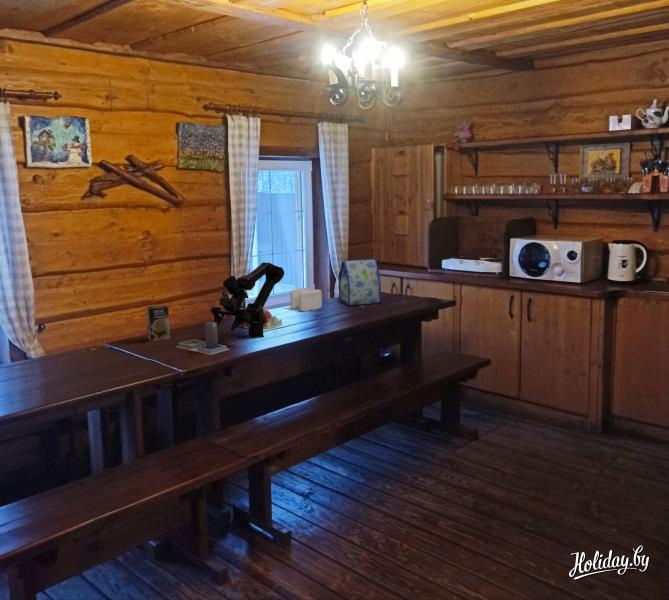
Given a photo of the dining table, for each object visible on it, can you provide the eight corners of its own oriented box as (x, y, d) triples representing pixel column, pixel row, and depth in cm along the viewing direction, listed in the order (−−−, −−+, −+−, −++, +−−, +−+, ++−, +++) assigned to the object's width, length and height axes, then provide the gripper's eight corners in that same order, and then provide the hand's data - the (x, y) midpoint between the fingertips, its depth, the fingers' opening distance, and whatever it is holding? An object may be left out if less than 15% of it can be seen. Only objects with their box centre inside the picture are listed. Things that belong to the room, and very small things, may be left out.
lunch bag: (369, 299, 416) (369, 256, 411) (382, 303, 401) (382, 259, 396) (336, 302, 406) (336, 259, 401) (349, 307, 391) (348, 262, 387)
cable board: (175, 348, 301) (175, 343, 301) (195, 343, 310) (194, 338, 309) (210, 356, 287) (210, 351, 287) (229, 351, 296) (229, 345, 295)
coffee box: (150, 343, 312) (148, 308, 309) (147, 340, 318) (145, 306, 315) (170, 340, 316) (168, 306, 314) (167, 337, 322) (165, 304, 319)
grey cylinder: (215, 348, 298) (213, 321, 296) (220, 350, 294) (218, 323, 292) (204, 349, 295) (203, 322, 293) (209, 352, 291) (208, 324, 289)
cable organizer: (311, 306, 394) (310, 287, 392) (322, 309, 386) (322, 289, 384) (290, 310, 385) (289, 290, 383) (301, 312, 377) (301, 292, 375)
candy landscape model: (227, 328, 342) (226, 310, 341) (246, 318, 364) (245, 302, 363) (273, 331, 335) (272, 312, 333) (290, 321, 357) (289, 304, 356)
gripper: (211, 289, 306) (197, 317, 298) (245, 291, 297) (231, 321, 289) (223, 303, 314) (209, 331, 306) (256, 306, 305) (243, 335, 298)
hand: (222, 329), depth 300 cm, fingers open, 9 cm apart
